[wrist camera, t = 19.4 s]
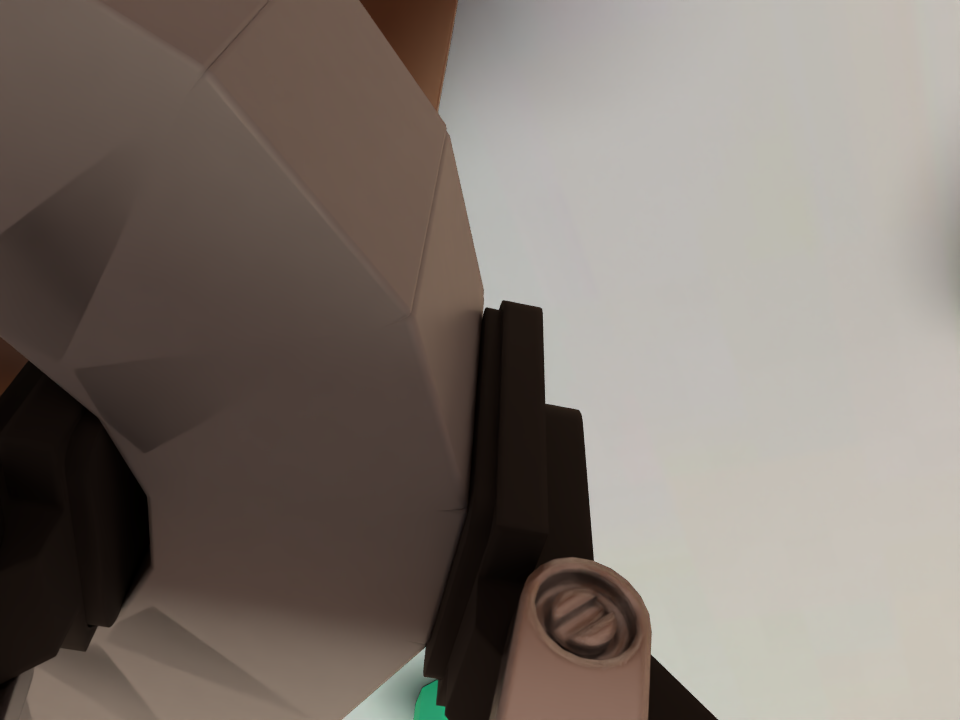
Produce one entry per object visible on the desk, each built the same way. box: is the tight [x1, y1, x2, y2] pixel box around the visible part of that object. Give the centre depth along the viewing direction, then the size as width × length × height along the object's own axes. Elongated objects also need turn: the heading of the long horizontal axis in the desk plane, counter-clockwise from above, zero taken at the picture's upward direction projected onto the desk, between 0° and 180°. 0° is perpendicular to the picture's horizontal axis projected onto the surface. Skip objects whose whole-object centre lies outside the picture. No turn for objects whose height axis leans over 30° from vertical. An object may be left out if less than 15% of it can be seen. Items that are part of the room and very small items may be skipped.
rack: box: [0, 0, 458, 396], centre depth 16 cm, size 10×10×14 cm
